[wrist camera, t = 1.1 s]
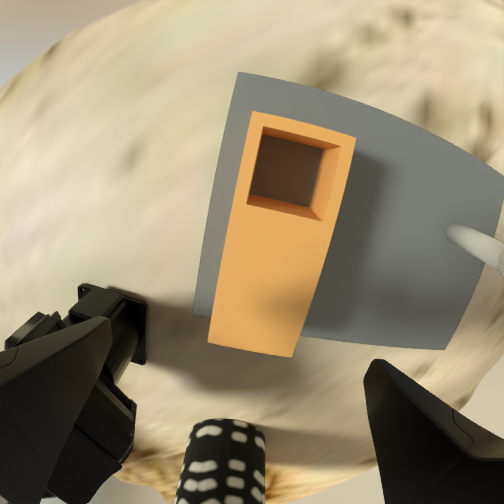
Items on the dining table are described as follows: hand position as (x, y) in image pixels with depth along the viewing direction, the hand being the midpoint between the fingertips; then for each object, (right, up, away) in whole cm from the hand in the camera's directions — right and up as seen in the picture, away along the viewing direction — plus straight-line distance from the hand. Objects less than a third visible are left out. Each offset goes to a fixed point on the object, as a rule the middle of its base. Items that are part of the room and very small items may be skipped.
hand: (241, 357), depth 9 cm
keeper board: (+9, +5, +10) cm, 14 cm away
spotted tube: (-2, -17, +18) cm, 25 cm away
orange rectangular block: (+2, +5, +8) cm, 10 cm away
